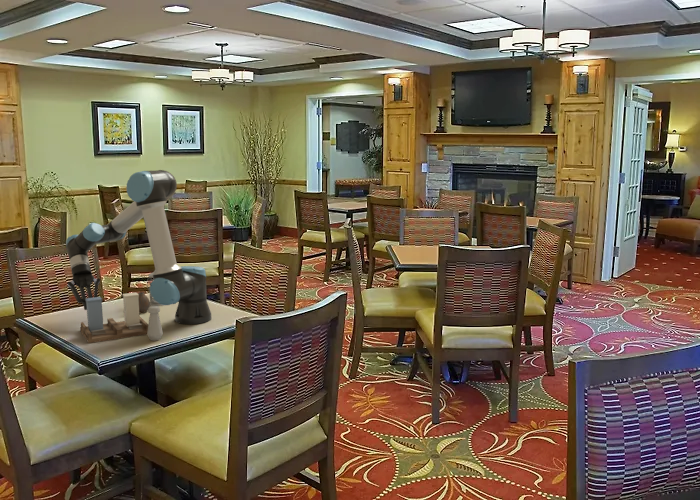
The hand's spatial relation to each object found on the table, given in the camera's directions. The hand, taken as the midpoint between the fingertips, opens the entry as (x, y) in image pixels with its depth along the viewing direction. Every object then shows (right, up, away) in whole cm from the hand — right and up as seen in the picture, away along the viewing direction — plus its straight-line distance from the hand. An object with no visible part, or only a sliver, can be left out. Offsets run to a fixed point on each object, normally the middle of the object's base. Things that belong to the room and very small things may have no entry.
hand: (91, 315), depth 253 cm
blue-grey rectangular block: (+5, -5, -7) cm, 10 cm away
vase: (+12, -1, +26) cm, 29 cm away
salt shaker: (+30, -8, -12) cm, 33 cm away
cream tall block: (+17, -4, 0) cm, 17 cm away
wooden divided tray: (+11, -6, -4) cm, 14 cm away
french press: (+14, +1, +41) cm, 43 cm away
